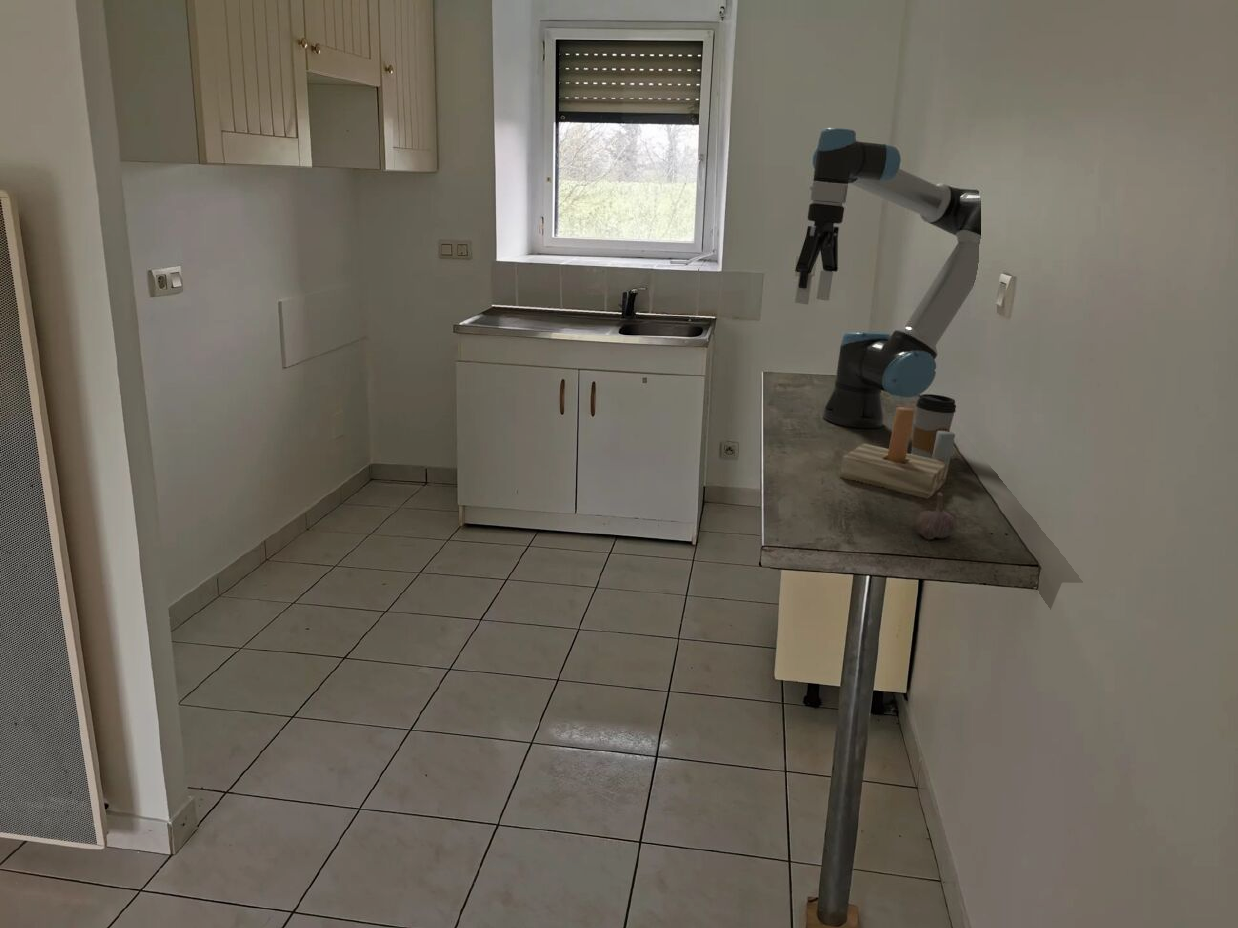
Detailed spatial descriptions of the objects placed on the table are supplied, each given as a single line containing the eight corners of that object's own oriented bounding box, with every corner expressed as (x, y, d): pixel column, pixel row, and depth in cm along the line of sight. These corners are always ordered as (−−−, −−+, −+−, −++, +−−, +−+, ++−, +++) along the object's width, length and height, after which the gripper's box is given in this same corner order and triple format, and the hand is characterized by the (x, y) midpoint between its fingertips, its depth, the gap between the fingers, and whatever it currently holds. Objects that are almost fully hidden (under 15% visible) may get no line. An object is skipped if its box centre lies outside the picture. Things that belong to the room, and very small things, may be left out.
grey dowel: (930, 475, 204) (939, 429, 202) (947, 479, 203) (956, 433, 200) (926, 478, 201) (935, 432, 199) (943, 482, 200) (952, 436, 197)
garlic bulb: (923, 543, 163) (931, 499, 161) (903, 527, 170) (911, 485, 168) (963, 544, 165) (972, 500, 163) (942, 528, 172) (951, 486, 169)
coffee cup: (928, 457, 218) (940, 393, 214) (952, 469, 211) (966, 402, 206) (897, 458, 215) (910, 393, 211) (921, 470, 208) (934, 402, 203)
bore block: (860, 463, 208) (863, 443, 207) (944, 483, 200) (948, 462, 198) (839, 477, 196) (843, 456, 195) (927, 498, 188) (932, 477, 187)
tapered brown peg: (887, 471, 200) (899, 406, 196) (904, 475, 198) (916, 409, 194) (882, 475, 197) (894, 408, 193) (899, 479, 195) (912, 412, 191)
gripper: (829, 203, 220) (815, 296, 227) (790, 200, 200) (775, 302, 206) (861, 206, 217) (846, 300, 223) (824, 204, 196) (808, 307, 202)
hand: (812, 301), depth 214 cm, fingers open, 13 cm apart
